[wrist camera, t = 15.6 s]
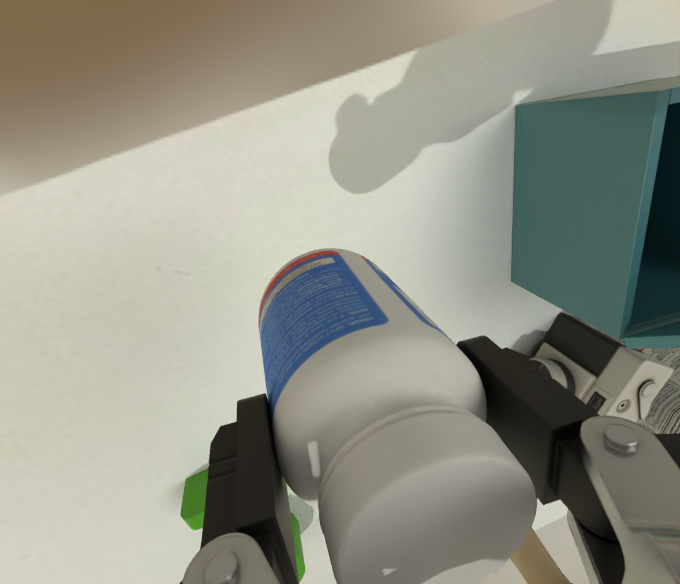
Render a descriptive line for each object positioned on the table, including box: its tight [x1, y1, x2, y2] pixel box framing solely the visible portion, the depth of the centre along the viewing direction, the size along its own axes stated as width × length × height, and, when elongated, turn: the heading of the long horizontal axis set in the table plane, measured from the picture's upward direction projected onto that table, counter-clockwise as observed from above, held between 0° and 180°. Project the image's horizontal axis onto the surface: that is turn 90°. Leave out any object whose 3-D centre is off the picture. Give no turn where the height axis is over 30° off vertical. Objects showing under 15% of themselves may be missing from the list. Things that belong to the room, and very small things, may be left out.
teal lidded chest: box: [511, 76, 680, 340], centre depth 30 cm, size 16×14×12 cm
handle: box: [510, 527, 572, 584], centre depth 41 cm, size 5×6×15 cm
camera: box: [529, 313, 674, 424], centre depth 38 cm, size 14×8×10 cm, turn 157°
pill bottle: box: [259, 249, 537, 584], centre depth 11 cm, size 6×5×10 cm
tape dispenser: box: [181, 469, 305, 582], centre depth 38 cm, size 15×7×5 cm, turn 19°
